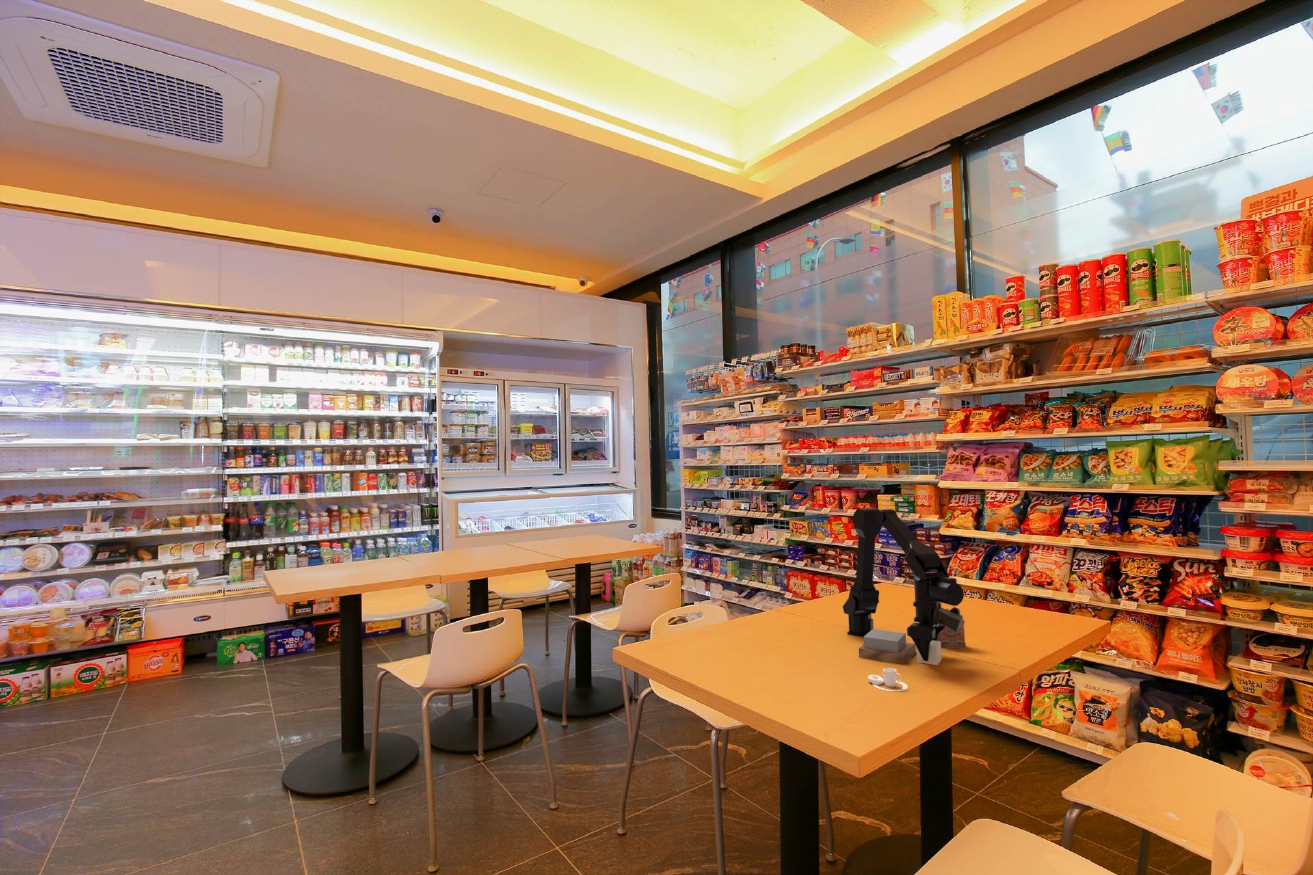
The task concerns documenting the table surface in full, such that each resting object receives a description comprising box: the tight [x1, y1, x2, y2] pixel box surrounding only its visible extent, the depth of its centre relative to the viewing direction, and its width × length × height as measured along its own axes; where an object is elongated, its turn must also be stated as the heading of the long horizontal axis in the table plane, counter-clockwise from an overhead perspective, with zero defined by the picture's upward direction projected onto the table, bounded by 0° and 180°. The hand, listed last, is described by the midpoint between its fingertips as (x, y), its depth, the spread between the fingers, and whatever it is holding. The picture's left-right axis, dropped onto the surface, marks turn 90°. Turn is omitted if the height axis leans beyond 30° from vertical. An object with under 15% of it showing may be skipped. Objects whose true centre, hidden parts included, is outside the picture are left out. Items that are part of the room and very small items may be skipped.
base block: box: [858, 641, 917, 665], centre depth 171 cm, size 12×12×3 cm
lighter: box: [937, 618, 967, 649], centre depth 177 cm, size 8×3×10 cm, turn 84°
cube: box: [916, 640, 942, 666], centre depth 164 cm, size 5×5×5 cm
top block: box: [863, 628, 907, 653], centre depth 171 cm, size 9×9×3 cm
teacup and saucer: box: [867, 667, 909, 692], centre depth 148 cm, size 9×8×4 cm
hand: (929, 656), depth 164 cm, fingers open, 7 cm apart
